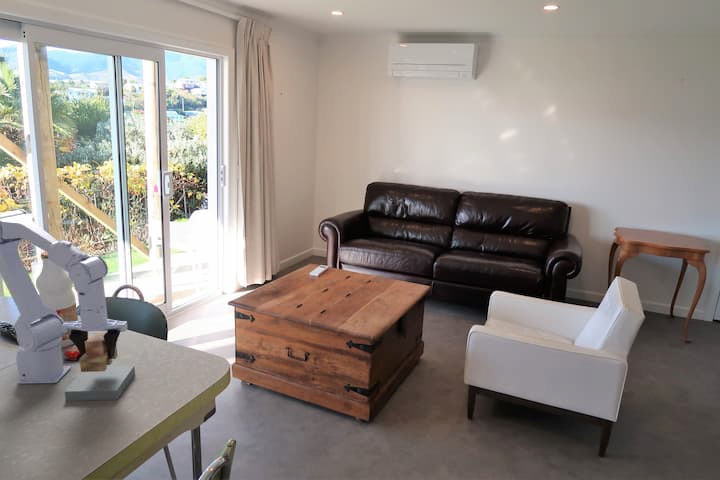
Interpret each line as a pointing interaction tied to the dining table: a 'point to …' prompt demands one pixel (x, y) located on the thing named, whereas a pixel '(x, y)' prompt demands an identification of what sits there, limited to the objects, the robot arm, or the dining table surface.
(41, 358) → the robot arm
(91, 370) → the tan boxy piece
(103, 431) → the dining table surface
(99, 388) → the dock
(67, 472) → the dining table surface
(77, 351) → the race car
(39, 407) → the dining table surface
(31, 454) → the dining table surface
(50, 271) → the fruit juice
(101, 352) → the salmon pink block
